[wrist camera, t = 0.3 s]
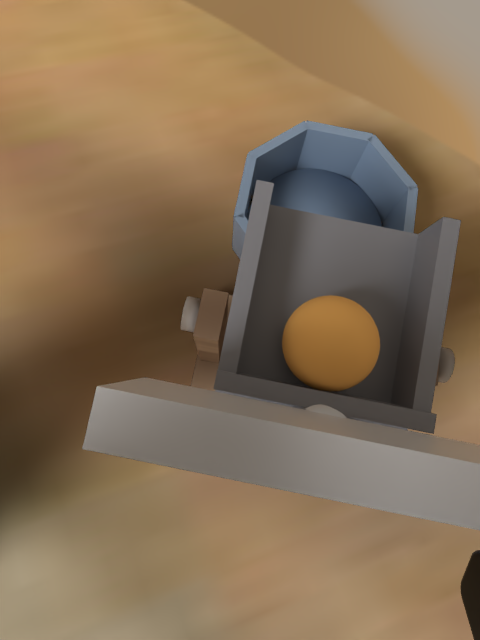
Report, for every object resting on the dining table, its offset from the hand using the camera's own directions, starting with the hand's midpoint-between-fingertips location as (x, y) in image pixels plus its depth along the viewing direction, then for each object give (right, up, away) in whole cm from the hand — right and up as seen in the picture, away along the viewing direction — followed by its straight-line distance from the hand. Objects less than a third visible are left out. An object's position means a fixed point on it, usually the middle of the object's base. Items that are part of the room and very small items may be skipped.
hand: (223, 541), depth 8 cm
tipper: (+3, +3, +9) cm, 10 cm away
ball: (+3, +3, +7) cm, 8 cm away
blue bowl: (+5, +9, +18) cm, 21 cm away
